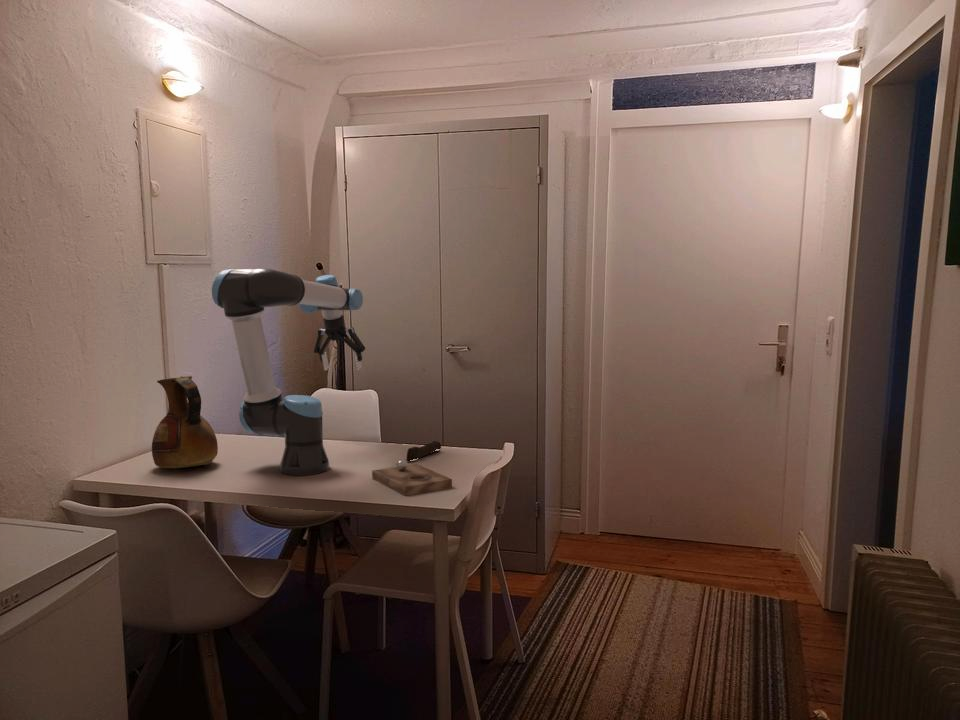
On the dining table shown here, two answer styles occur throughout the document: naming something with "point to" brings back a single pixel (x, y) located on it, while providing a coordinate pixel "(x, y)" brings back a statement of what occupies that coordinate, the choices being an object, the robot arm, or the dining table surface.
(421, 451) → the hand tool
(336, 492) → the dining table surface
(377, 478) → the walnut plate
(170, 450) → the ceramic pitcher
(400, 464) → the steel ball
